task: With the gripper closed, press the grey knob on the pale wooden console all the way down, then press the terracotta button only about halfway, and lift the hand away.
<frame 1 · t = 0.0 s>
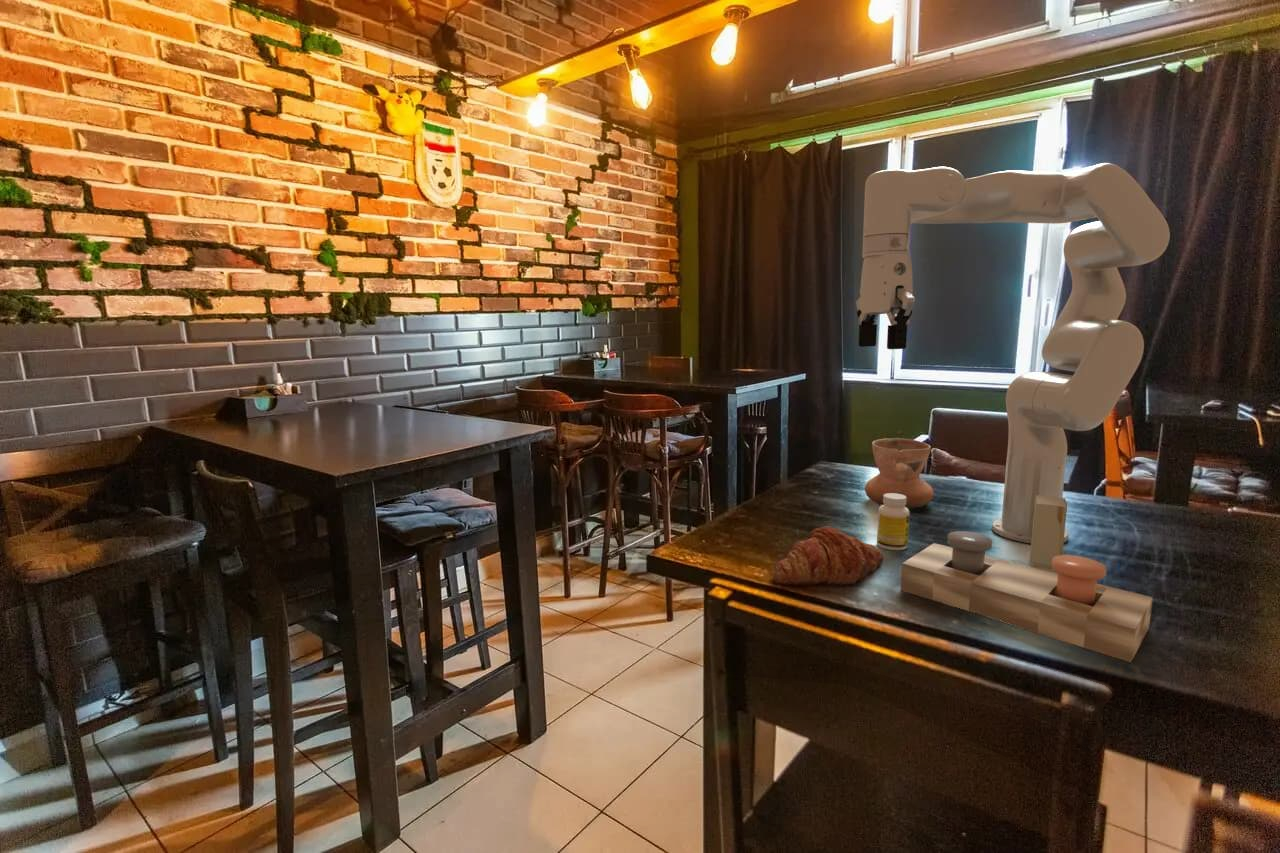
hand: (881, 347, 108), 37 cm above the table, tool pointing down, fingers open, 9 cm apart
terracotta button: (1076, 582, 84), point 6 cm above the table, slide at 0.0 cm
button console: (1015, 607, 90), on the table
pastry: (828, 575, 104), on the table
supplement bottle: (891, 546, 115), on the table
skincare box: (1044, 571, 103), on the table
grey knob: (968, 554, 94), point 6 cm above the table, slide at 0.0 cm
ceramic jug: (897, 504, 140), on the table
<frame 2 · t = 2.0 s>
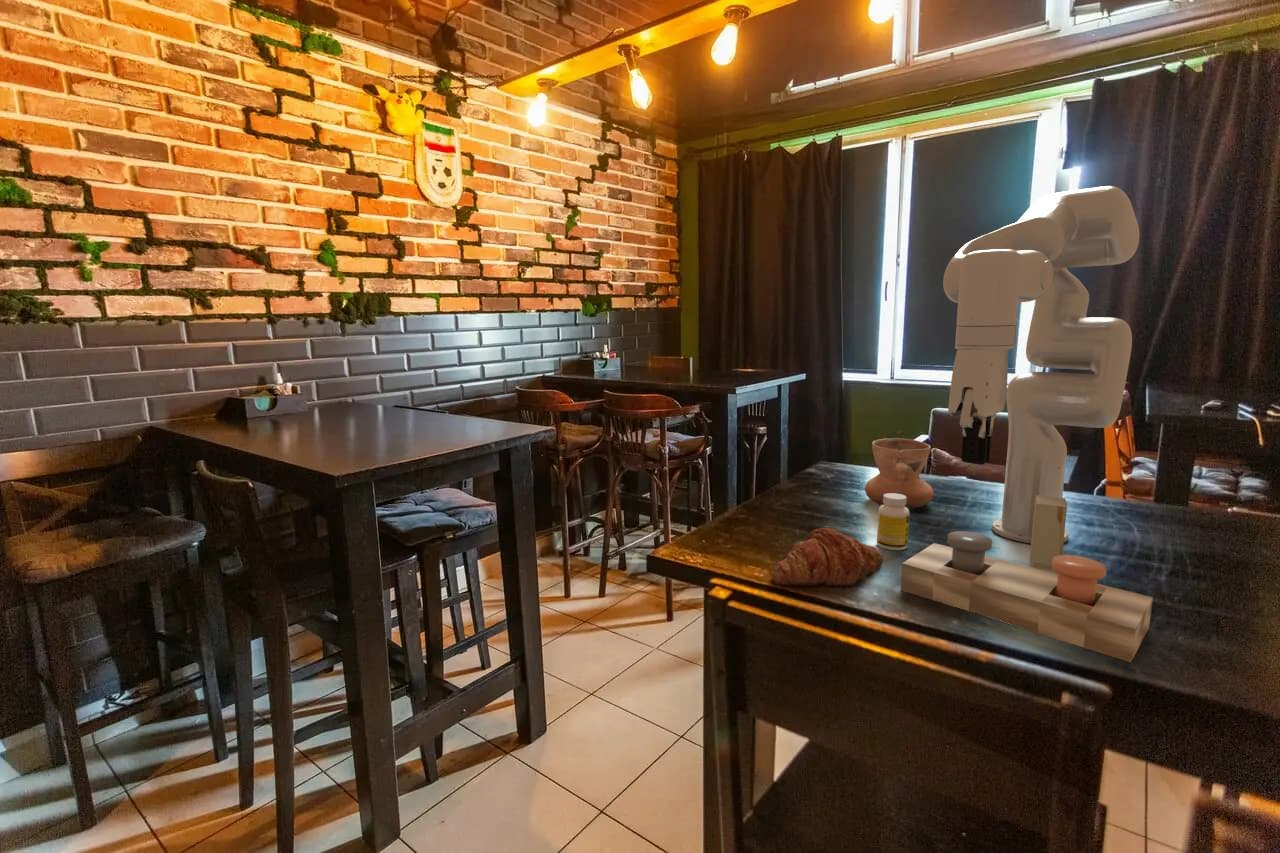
hand: (975, 461, 92), 21 cm above the table, tool pointing down, fingers closed
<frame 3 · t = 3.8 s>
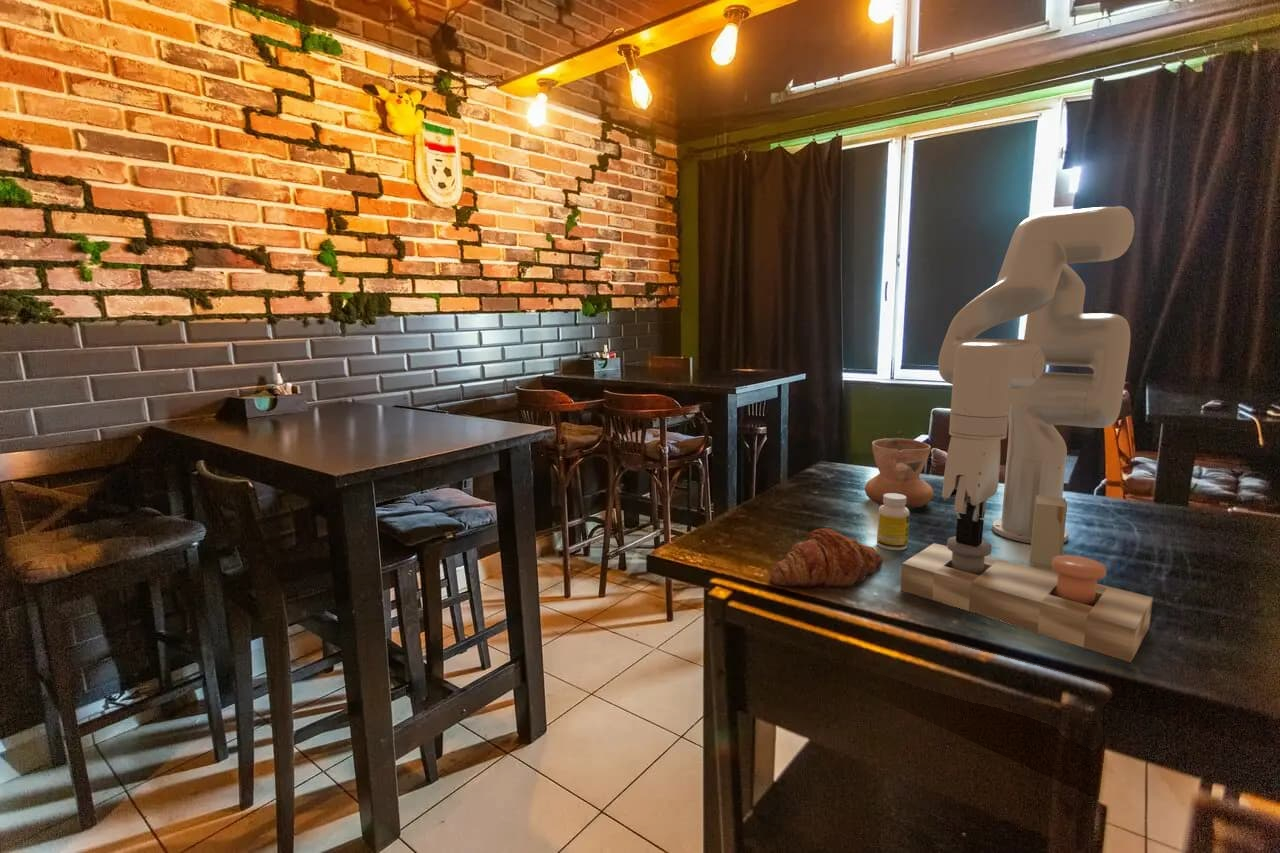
hand: (968, 543, 94), 8 cm above the table, tool pointing down, fingers closed
grey knob: (967, 559, 94), point 5 cm above the table, slide at 0.8 cm, touching gripper
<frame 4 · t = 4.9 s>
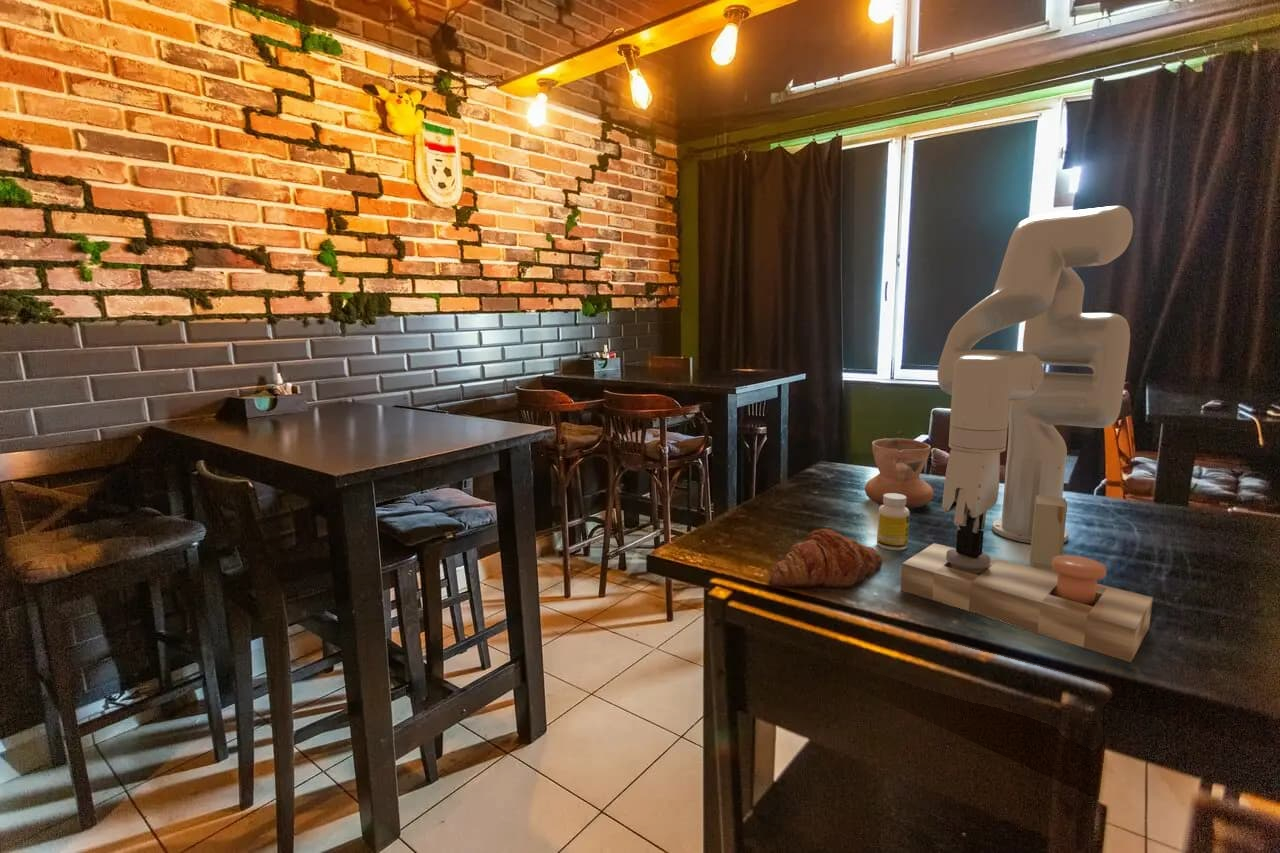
hand: (968, 554, 94), 6 cm above the table, tool pointing down, fingers closed
grey knob: (966, 572, 95), point 3 cm above the table, slide at 2.9 cm
everything else where it was.
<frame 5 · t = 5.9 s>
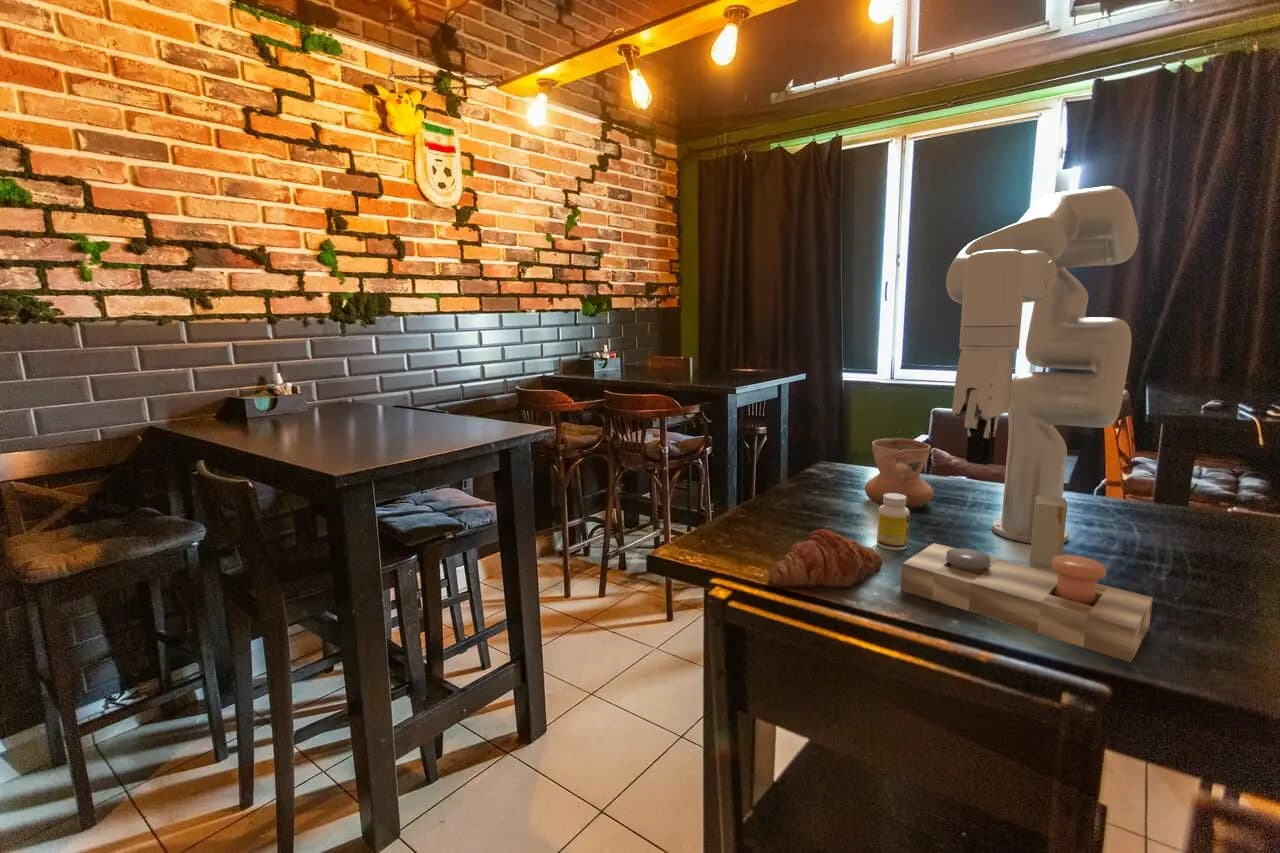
hand: (979, 462, 91), 21 cm above the table, tool pointing down, fingers closed
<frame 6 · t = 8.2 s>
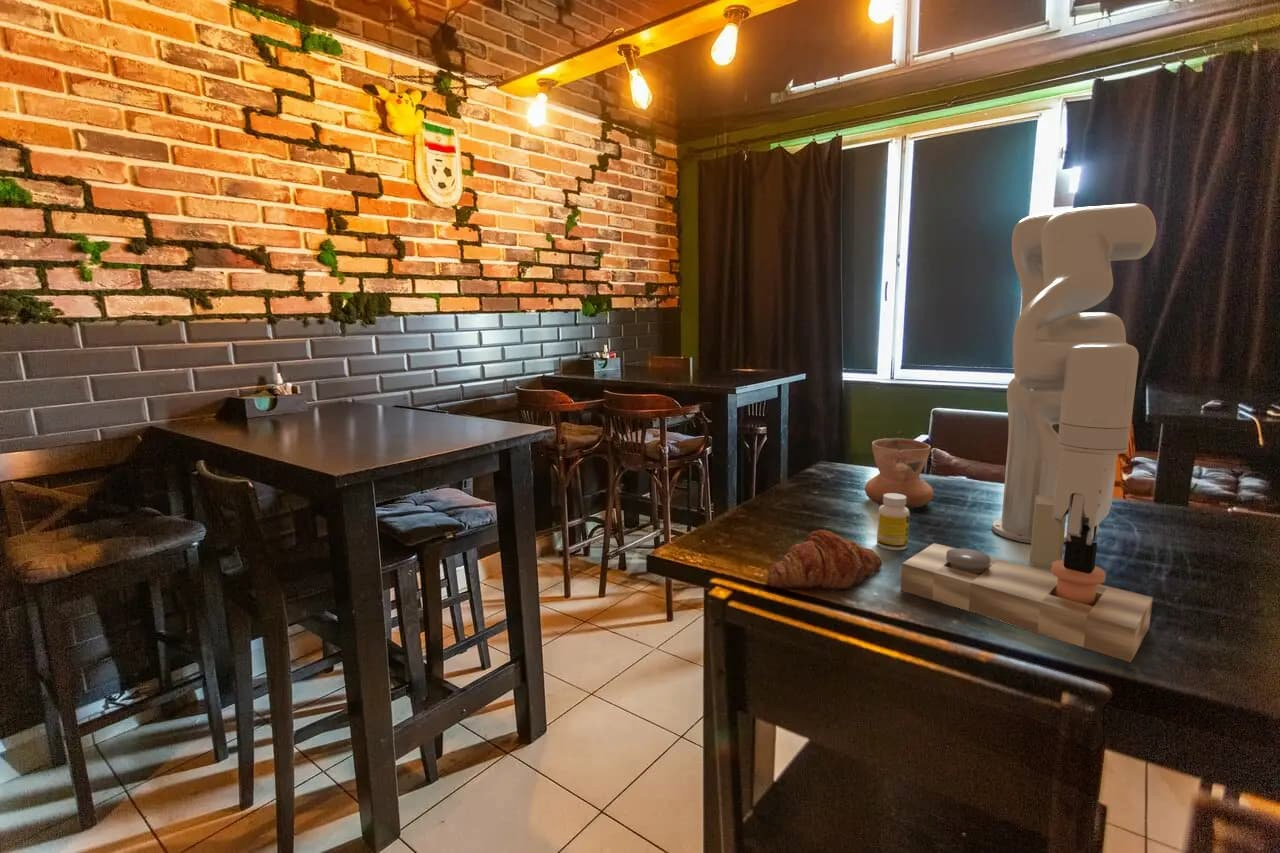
hand: (1078, 568, 83), 8 cm above the table, tool pointing down, fingers closed
terracotta button: (1076, 587, 84), point 6 cm above the table, slide at 0.7 cm, touching gripper
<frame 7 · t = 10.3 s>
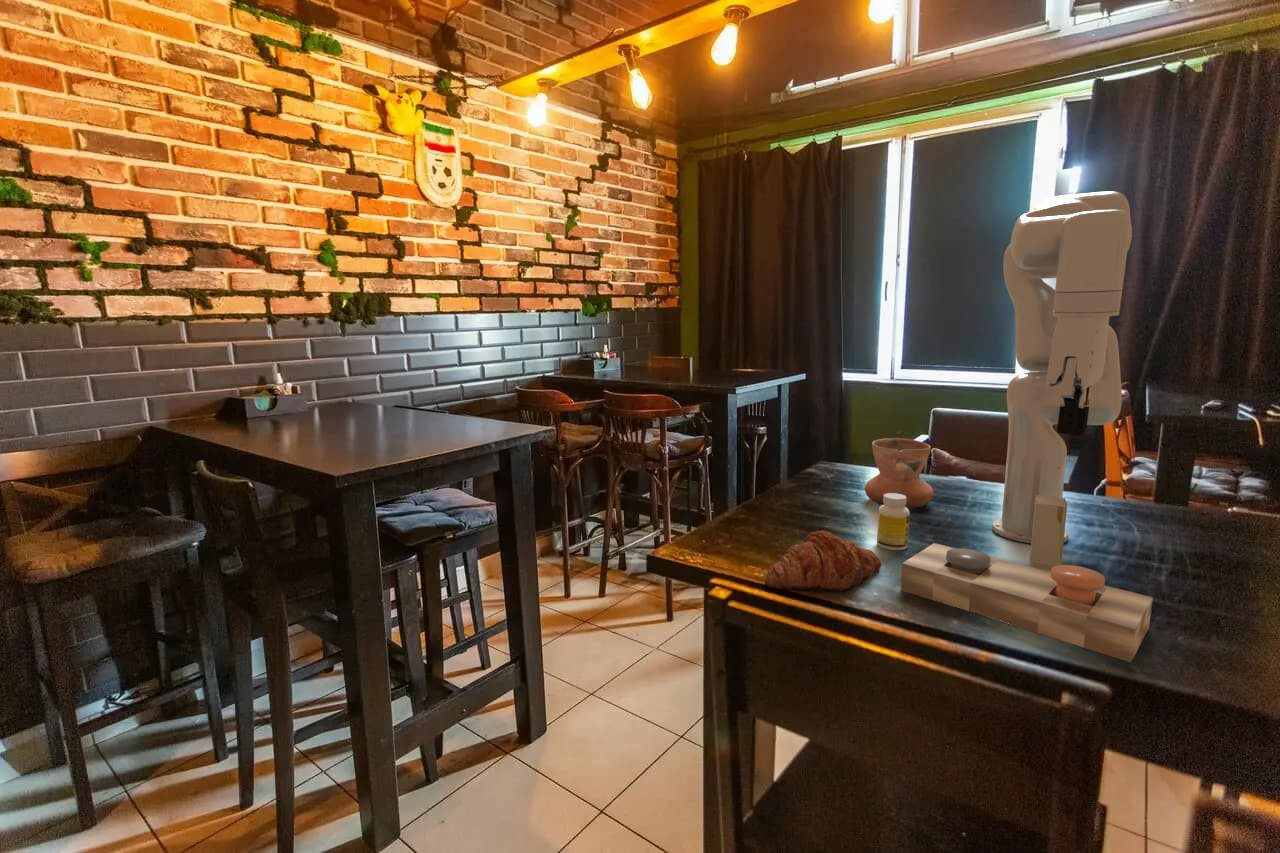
hand: (1071, 433, 89), 26 cm above the table, tool pointing down, fingers closed
terracotta button: (1075, 592, 84), point 5 cm above the table, slide at 1.5 cm
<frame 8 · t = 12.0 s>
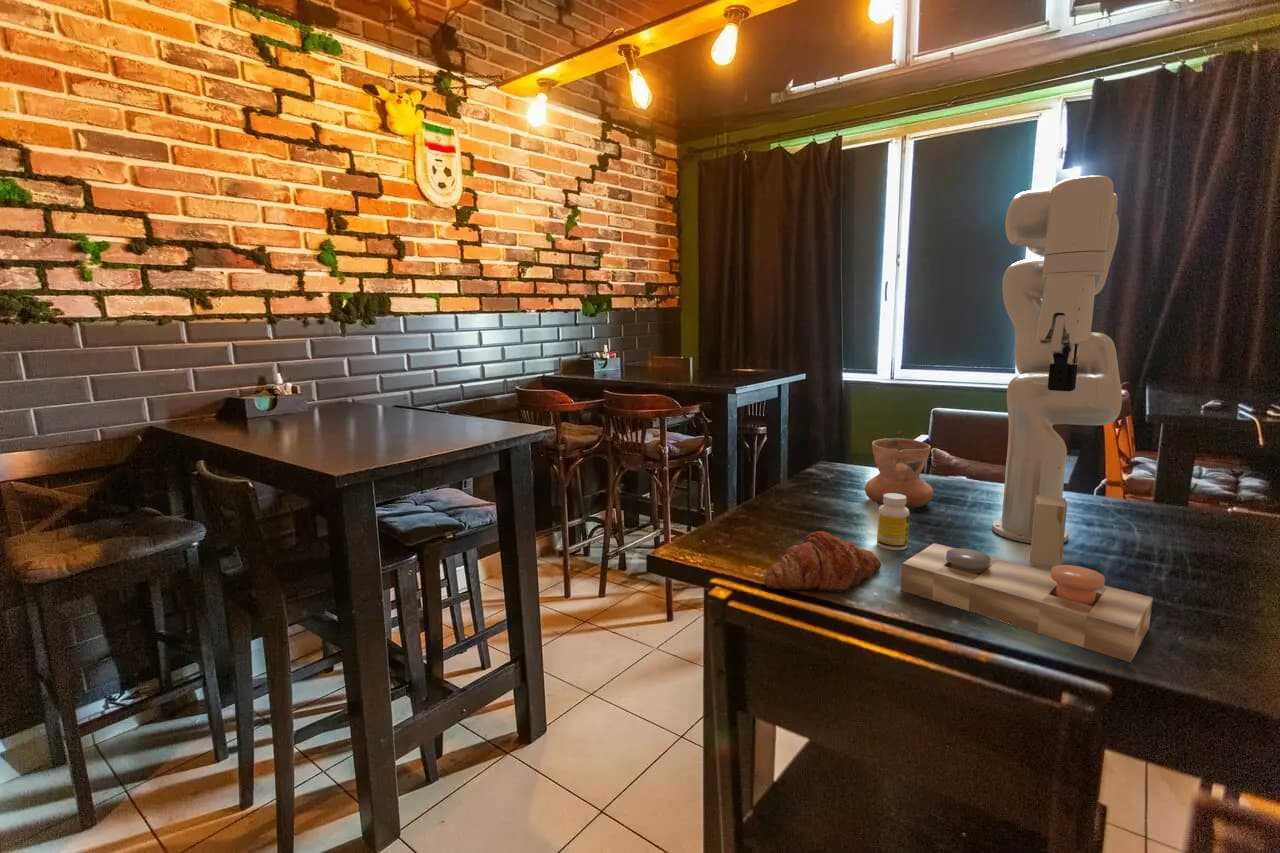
hand: (1061, 390, 93), 31 cm above the table, tool pointing down, fingers closed
at the end: grey knob slide at 2.9 cm; terracotta button slide at 1.5 cm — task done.
